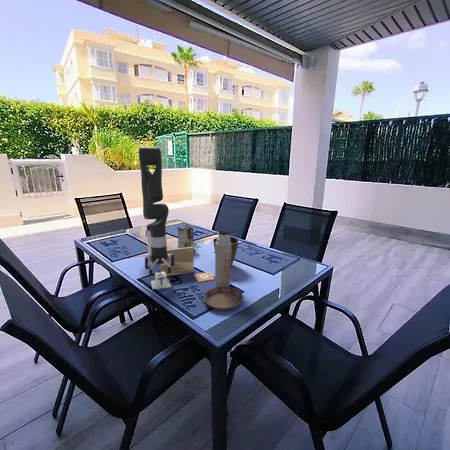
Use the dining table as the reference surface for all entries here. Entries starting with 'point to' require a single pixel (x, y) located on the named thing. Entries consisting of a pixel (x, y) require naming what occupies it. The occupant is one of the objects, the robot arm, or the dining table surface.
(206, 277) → the pad
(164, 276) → the letter cube
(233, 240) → the plant pot
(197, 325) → the dining table surface
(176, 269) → the screen
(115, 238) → the dining table surface
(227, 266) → the thermos bottle
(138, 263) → the dining table surface
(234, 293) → the plant saucer
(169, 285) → the pad
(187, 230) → the coffee box
